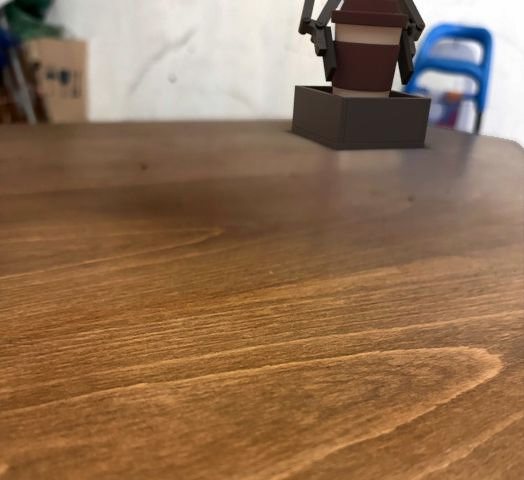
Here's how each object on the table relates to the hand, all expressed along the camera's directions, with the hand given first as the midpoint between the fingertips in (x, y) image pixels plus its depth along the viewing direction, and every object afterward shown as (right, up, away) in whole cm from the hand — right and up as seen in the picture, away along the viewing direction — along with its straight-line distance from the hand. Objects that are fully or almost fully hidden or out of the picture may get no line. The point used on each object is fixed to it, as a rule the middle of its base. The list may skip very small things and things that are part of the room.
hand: (370, 76), depth 87 cm
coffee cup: (-1, -4, +5) cm, 7 cm away
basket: (-1, -6, +7) cm, 9 cm away
